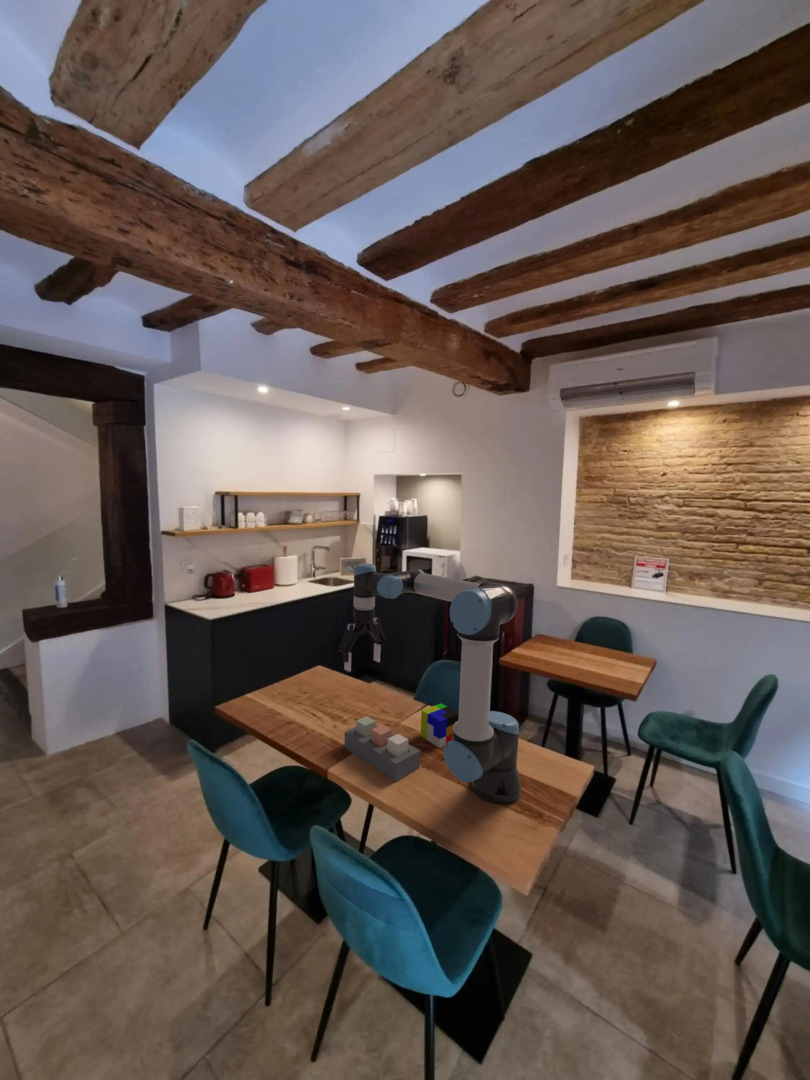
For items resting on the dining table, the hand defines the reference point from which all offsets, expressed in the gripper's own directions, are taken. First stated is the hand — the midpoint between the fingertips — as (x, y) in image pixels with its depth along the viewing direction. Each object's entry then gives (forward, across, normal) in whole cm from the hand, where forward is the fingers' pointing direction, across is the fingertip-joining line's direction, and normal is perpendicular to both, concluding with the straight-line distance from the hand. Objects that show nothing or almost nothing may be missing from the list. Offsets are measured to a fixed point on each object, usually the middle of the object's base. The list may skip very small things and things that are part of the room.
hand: (362, 665), depth 163 cm
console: (+28, +2, +13) cm, 31 cm away
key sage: (+25, +2, +5) cm, 26 cm away
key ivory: (+25, +2, +21) cm, 33 cm away
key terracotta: (+25, +2, +13) cm, 29 cm away
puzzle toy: (+28, -23, +18) cm, 41 cm away
